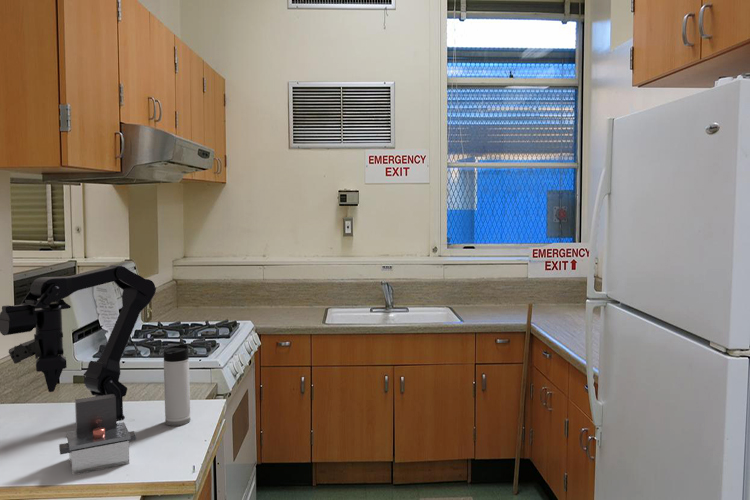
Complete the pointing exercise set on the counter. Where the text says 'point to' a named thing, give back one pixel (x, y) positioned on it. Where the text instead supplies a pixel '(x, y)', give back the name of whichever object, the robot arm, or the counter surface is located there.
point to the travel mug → (176, 385)
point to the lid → (96, 423)
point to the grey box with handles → (98, 455)
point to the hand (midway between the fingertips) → (51, 391)
